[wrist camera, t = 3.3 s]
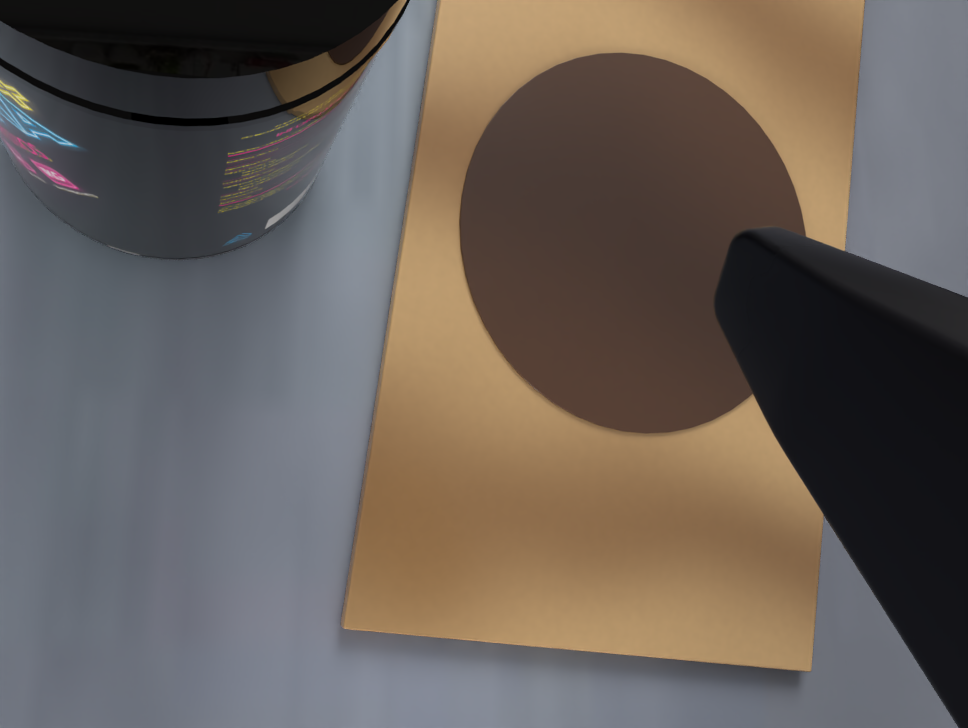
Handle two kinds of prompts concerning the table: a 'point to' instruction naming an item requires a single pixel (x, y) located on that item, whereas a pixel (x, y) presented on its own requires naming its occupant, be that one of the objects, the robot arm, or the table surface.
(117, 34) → the supplement container
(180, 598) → the table surface
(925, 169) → the table surface
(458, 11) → the placemat
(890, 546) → the robot arm
